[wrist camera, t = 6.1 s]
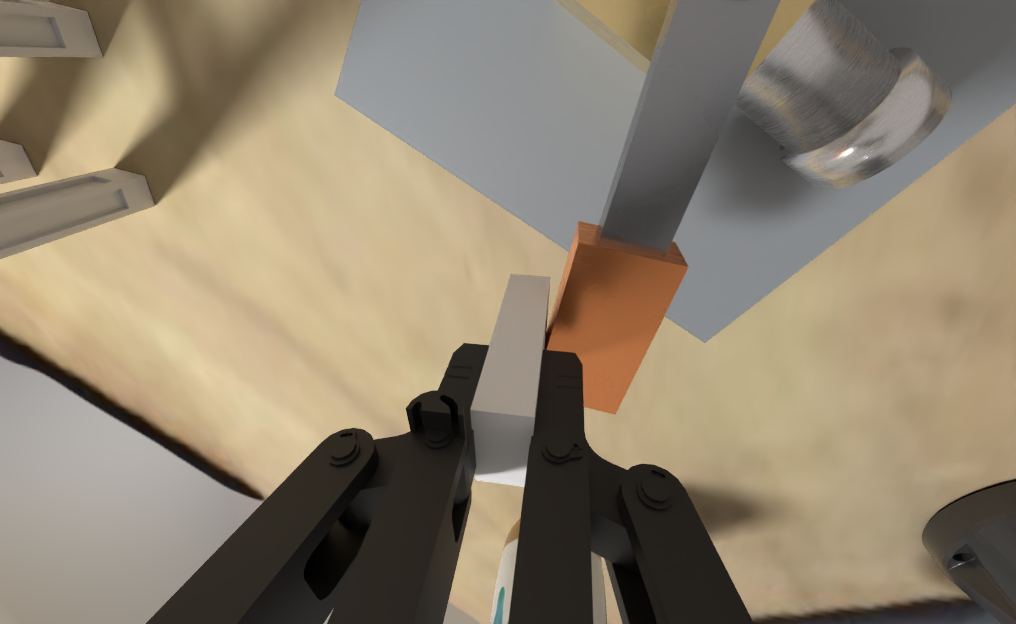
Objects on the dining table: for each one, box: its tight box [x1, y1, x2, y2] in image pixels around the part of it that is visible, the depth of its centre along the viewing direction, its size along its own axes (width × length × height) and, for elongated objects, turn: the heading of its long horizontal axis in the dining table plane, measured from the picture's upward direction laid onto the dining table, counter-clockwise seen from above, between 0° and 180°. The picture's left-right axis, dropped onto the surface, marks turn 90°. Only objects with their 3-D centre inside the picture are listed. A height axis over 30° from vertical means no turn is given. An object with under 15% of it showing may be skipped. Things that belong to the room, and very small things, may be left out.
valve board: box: [334, 0, 1016, 343], centre depth 17 cm, size 26×22×2 cm
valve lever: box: [544, 0, 781, 414], centre depth 11 cm, size 4×16×2 cm, turn 170°
